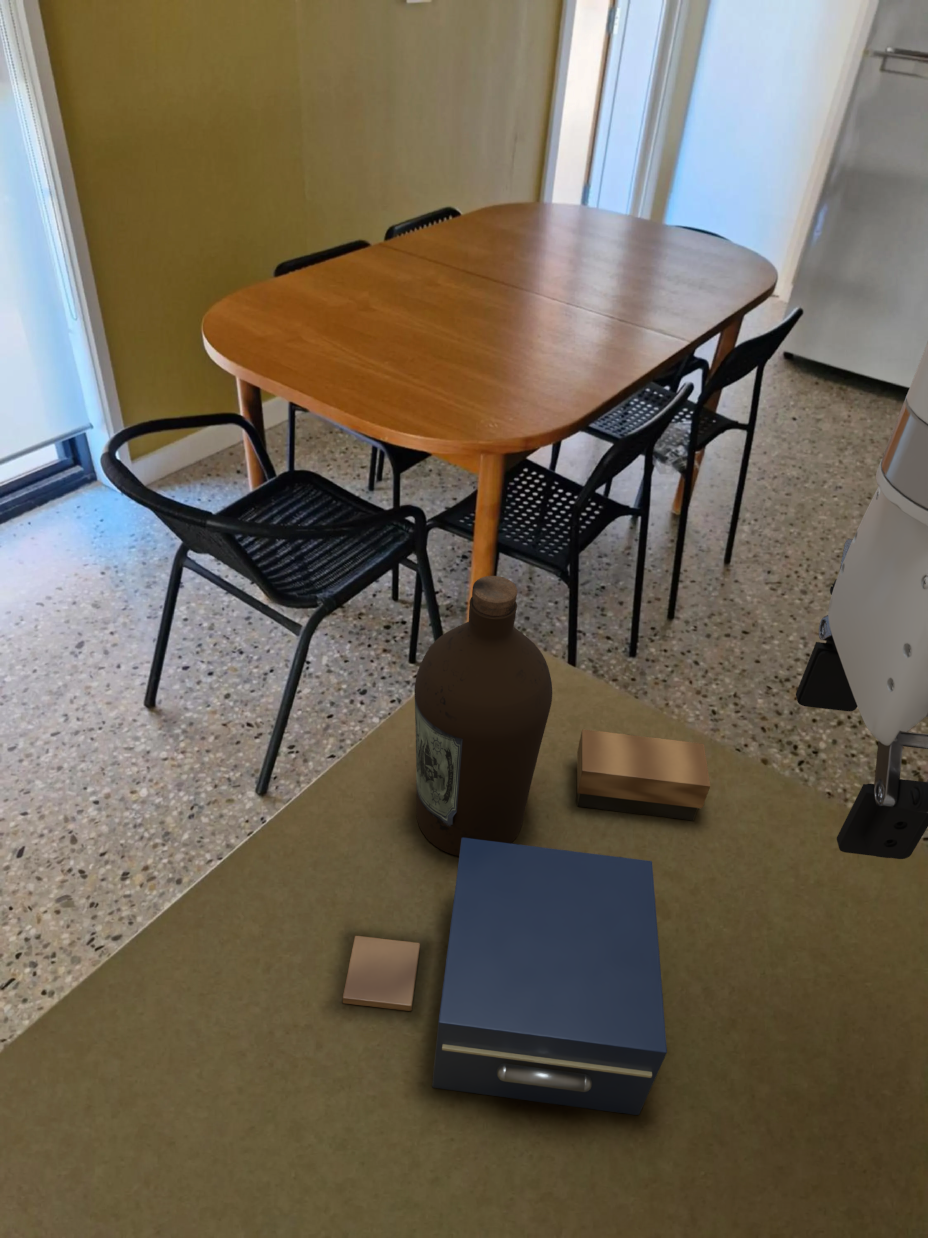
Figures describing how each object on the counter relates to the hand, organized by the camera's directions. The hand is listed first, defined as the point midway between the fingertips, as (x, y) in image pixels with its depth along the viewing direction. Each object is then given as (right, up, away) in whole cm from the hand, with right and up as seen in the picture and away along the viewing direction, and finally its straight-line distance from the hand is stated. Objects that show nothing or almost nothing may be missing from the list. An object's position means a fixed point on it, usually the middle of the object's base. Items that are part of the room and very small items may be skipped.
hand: (845, 771), depth 44 cm
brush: (-3, -8, +37) cm, 38 cm away
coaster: (-25, -18, +21) cm, 37 cm away
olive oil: (-19, -10, +34) cm, 40 cm away
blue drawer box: (-14, -21, +21) cm, 32 cm away
